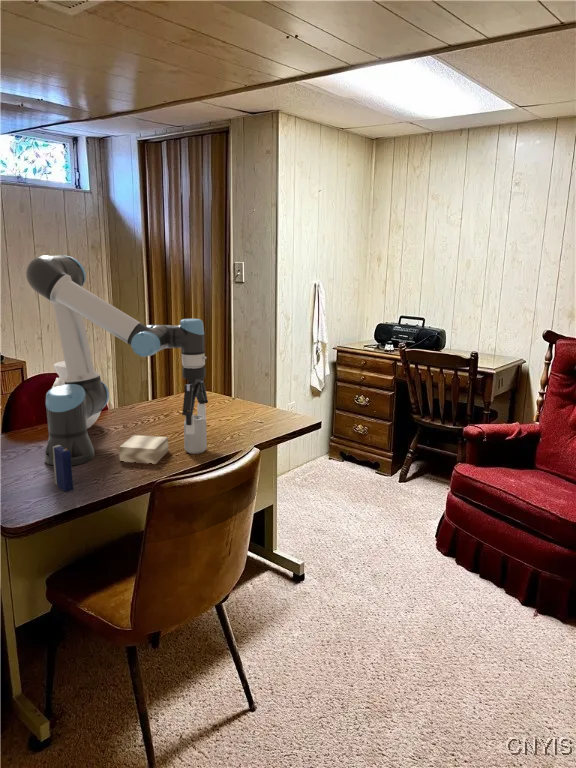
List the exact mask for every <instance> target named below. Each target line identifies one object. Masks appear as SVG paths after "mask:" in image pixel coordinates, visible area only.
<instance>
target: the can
mask: <svg viewBox="0 0 576 768" xmlns="http://www.w3.org/2000/svg"><path fill="white" fill-rule="evenodd" d="M193 415H194V431H195V434H186V425H185V420H184V421H183V439H184V442H183V443H184V446H183V447H184V451H186V452H187V453H188V454H193V455H195V454H196V455H198V454H202V453H204V452H205V451H206V450H207V449H208V447H207V446H208V445H207V444H208V441H207V438H208V437H207V436H208V435H207V420H206V421H205V420H204V417H203V416H200V415H198V414H193Z"/></svg>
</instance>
